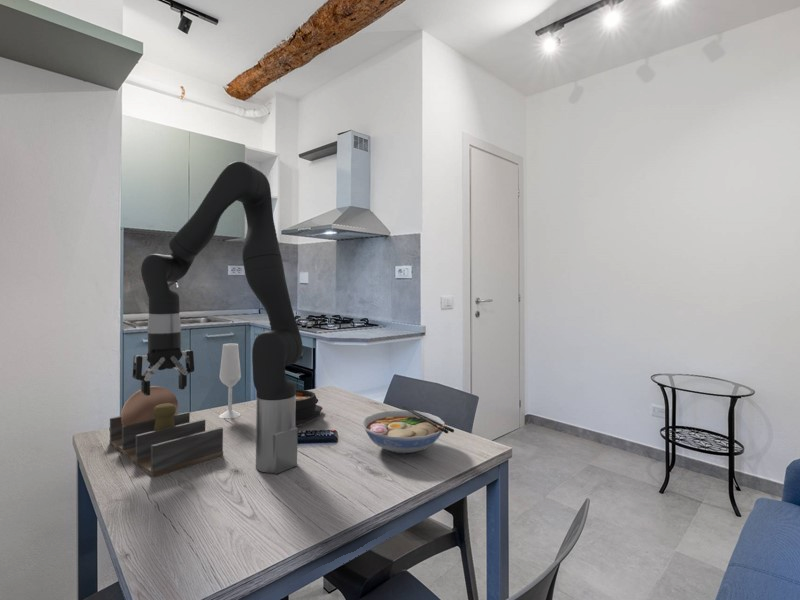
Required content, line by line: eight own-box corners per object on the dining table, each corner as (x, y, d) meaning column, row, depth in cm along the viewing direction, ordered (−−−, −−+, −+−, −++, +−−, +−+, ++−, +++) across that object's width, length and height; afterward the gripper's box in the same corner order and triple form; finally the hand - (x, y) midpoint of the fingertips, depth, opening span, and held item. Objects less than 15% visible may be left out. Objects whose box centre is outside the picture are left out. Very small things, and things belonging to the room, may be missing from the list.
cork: (170, 450, 105) (170, 407, 105) (146, 449, 105) (146, 407, 105) (181, 441, 111) (181, 401, 111) (159, 441, 111) (159, 401, 111)
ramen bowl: (347, 439, 118) (348, 411, 118) (416, 428, 128) (417, 402, 128) (384, 475, 96) (385, 441, 96) (464, 459, 106) (464, 427, 106)
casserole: (289, 406, 149) (290, 383, 148) (335, 413, 143) (335, 389, 142) (242, 428, 125) (242, 401, 125) (294, 437, 119) (294, 408, 119)
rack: (223, 454, 105) (223, 397, 105) (153, 477, 93) (153, 411, 92) (173, 427, 124) (173, 379, 124) (109, 443, 111) (109, 388, 111)
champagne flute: (240, 411, 142) (241, 342, 141) (240, 417, 135) (241, 345, 135) (219, 413, 139) (219, 343, 138) (218, 419, 133) (219, 346, 132)
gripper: (139, 333, 99) (140, 399, 100) (198, 329, 111) (198, 389, 111) (128, 331, 104) (128, 394, 105) (186, 328, 115) (186, 385, 116)
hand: (164, 391), depth 108 cm, fingers open, 8 cm apart
